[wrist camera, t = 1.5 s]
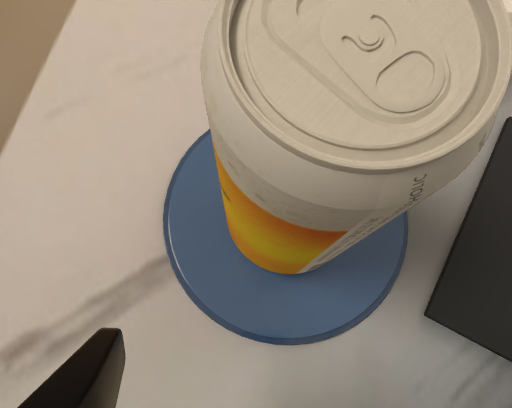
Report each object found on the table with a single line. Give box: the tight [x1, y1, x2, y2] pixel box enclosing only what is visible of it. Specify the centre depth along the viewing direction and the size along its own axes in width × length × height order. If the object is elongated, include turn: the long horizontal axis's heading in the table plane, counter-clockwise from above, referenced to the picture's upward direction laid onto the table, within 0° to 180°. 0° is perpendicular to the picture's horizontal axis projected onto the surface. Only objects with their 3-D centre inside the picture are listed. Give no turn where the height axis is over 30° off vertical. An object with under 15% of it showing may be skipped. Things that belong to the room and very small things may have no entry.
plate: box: [163, 129, 408, 345], centre depth 23 cm, size 13×13×1 cm
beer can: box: [201, 0, 512, 274], centre depth 15 cm, size 6×6×15 cm
